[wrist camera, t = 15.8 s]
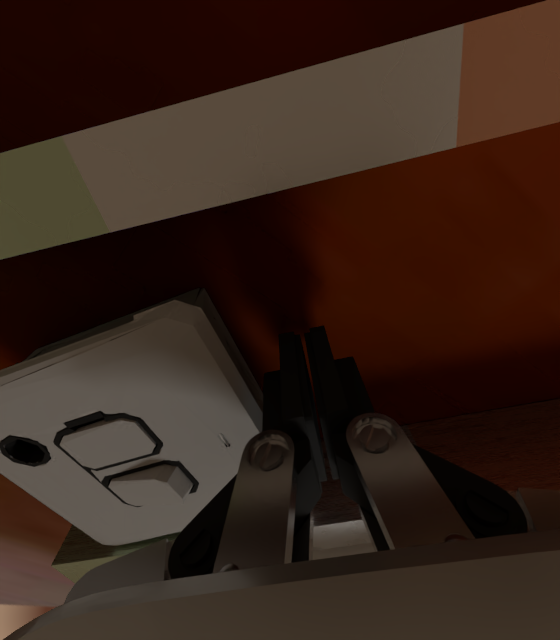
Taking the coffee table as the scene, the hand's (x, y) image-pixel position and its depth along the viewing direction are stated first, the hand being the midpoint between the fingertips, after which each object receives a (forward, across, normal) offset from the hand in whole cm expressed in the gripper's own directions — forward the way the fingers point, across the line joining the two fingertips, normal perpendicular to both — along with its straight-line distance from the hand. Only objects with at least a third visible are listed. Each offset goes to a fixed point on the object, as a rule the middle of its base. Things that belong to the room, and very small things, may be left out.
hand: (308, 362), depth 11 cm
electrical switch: (0, +11, +2) cm, 11 cm away
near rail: (+1, 0, -7) cm, 7 cm away
